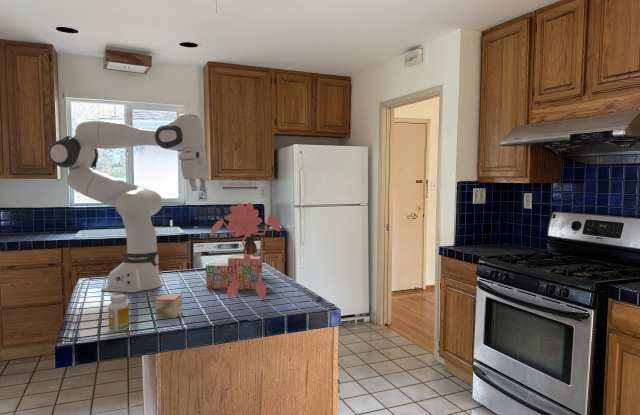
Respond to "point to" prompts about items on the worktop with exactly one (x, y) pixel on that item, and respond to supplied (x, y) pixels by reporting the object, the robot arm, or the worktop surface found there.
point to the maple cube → (168, 306)
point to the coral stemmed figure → (247, 224)
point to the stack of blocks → (244, 272)
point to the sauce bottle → (250, 246)
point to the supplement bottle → (118, 313)
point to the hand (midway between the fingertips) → (199, 190)
